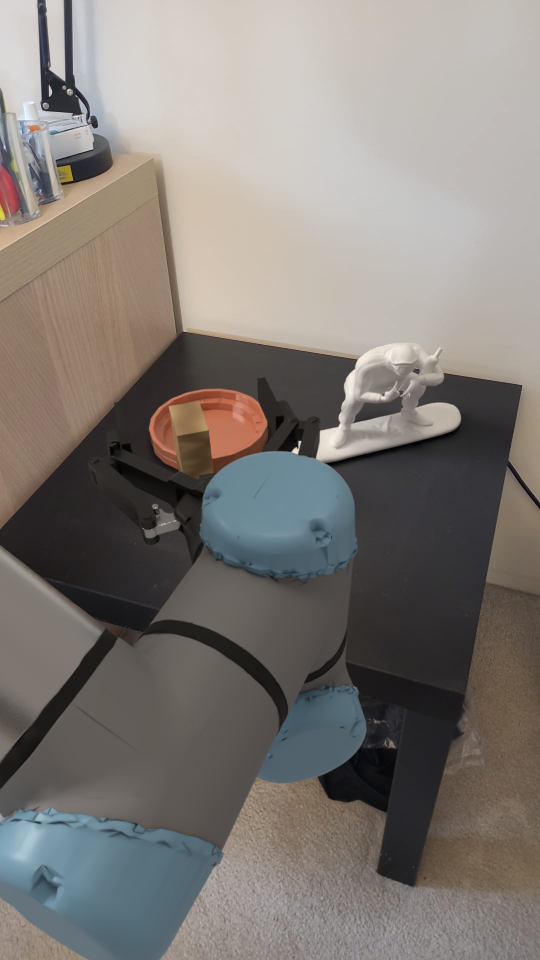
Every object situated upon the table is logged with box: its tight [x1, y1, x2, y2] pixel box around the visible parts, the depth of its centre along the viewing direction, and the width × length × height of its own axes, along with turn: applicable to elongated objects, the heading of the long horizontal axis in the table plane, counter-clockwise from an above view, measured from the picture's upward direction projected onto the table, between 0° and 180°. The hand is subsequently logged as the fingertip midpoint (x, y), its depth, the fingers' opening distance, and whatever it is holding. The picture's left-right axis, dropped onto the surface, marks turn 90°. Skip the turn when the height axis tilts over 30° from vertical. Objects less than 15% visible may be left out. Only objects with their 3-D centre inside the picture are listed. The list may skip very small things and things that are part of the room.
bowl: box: [148, 388, 269, 473], centre depth 95 cm, size 16×16×3 cm
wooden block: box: [169, 401, 214, 479], centre depth 82 cm, size 4×6×13 cm, turn 15°
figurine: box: [292, 342, 462, 464], centre depth 89 cm, size 26×13×17 cm, turn 109°
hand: (192, 401), depth 65 cm, fingers open, 13 cm apart
